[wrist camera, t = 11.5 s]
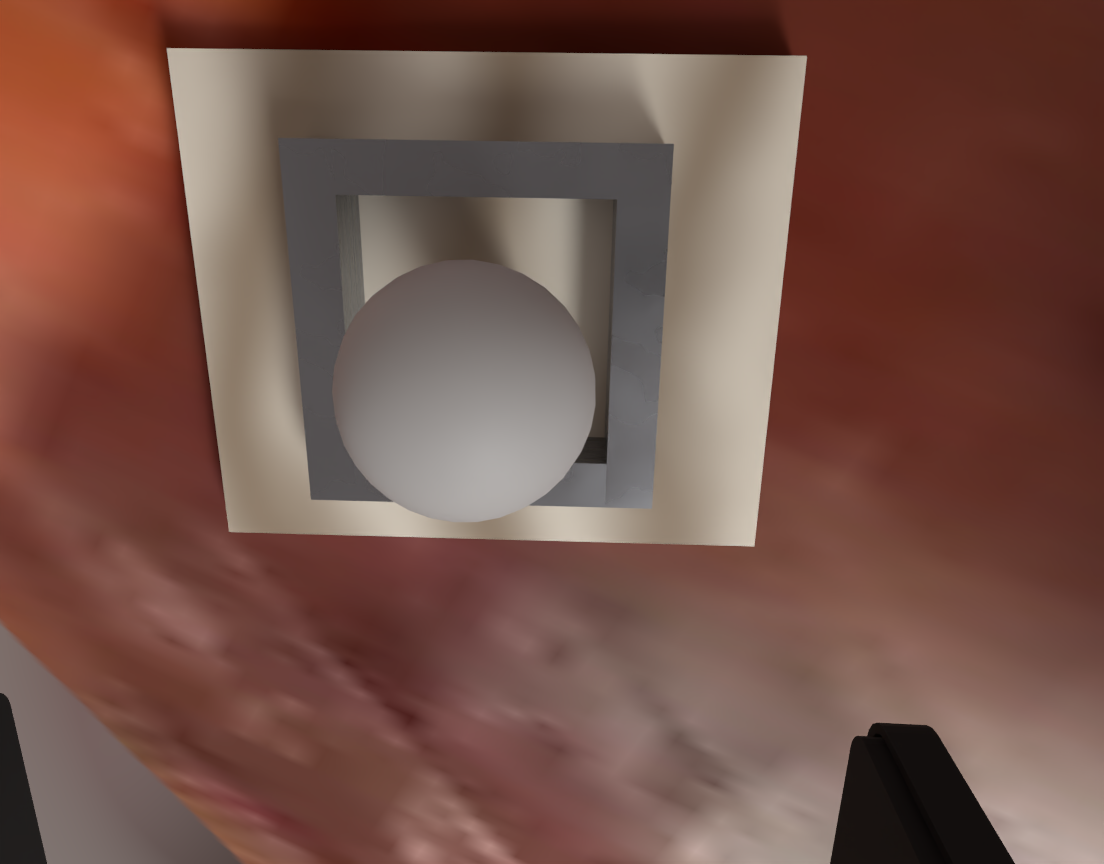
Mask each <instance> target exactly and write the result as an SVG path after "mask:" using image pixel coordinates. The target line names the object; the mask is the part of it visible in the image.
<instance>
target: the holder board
mask: <svg viewBox="0 0 1104 864" xmlns="http://www.w3.org/2000/svg"><path fill="white" fill-rule="evenodd" d="M167 55H168V63H169V70H170V78H171V86H172V94H173V101H174V109H175V117H176V125H177V132H178V140H179V148H180V155H181V163H182V171H183V179H184V186H185V194H186V202H187V210H188V217H189V225H190V233H191V240H192V248H193V256H194V264H195V271H196V279H197V287H198V295H199V302H200V310H201V318H202V326H203V333H204V341H205V349H206V356H207V364H208V372H209V380H210V387H211V395H212V403H213V411H214V418H215V426H216V434H217V442H218V449H219V457H220V465H221V472H222V480H223V488H224V496H225V503H226V511H227V519H228V527H229V532H251V533H288V534H324V535H360V536H397V537H433V538H470V539H506V540H542V541H579V542H615V543H652V544H688V545H724V546H754V544H755V535H756V525H757V516H758V507H759V497H760V488H761V479H762V470H763V460H764V451H765V442H766V432H767V423H768V414H769V405H770V395H771V386H772V377H773V367H774V358H775V349H776V340H777V330H778V321H779V312H780V302H781V293H782V284H783V274H784V265H785V256H786V247H787V237H788V228H789V219H790V209H791V200H792V191H793V182H794V172H795V163H796V154H797V144H798V135H799V126H800V117H801V107H802V98H803V89H804V79H805V70H806V61H807V56H771V55H689V54H607V53H524V52H442V51H360V50H278V49H196V48H167ZM278 138H321V139H387V140H454V141H521V142H588V143H655V144H674V152H673V169H672V185H671V202H670V218H669V235H668V252H667V268H666V285H665V301H664V318H663V335H662V351H661V368H660V384H659V401H658V418H657V434H656V451H655V467H654V484H653V500H652V509H641V508H603V507H565V506H527V507H525V508H523V509H521V510H518V511H516V512H513V513H511V514H508V515H505V516H503V517H500V518H496V519H491V520H485V521H480V522H450V521H444V520H438V519H432V518H429V517H426V516H423V515H420V514H418V513H415V512H412V511H409V510H407V509H406V508H404V507H402V506H400V505H399V504H397V503H395V502H376V501H338V500H311V495H310V484H309V473H308V462H307V451H306V440H305V429H304V418H303V407H302V396H301V385H300V374H299V363H298V352H297V342H296V331H295V320H294V309H293V298H292V287H291V276H290V265H289V254H288V243H287V232H286V221H285V210H284V199H283V188H282V177H281V166H280V155H279V144H278ZM358 198H359V214H360V230H361V247H362V263H363V279H364V295H365V303H366V302H367V301H368V300H369V299H370V298H371V297H372V295H374V294H375V293H377V292H378V291H379V290H381V289H382V288H383V287H385V286H386V285H387V284H389V283H390V282H391V281H393V280H394V279H395V278H397V277H399V276H401V275H403V274H405V273H407V272H409V271H412V270H414V269H416V268H418V267H420V266H424V265H428V264H432V263H437V262H441V261H445V260H477V261H483V262H489V263H494V264H499V265H502V266H504V267H507V268H510V269H512V270H515V271H517V272H520V273H522V274H524V275H526V276H527V277H529V278H531V279H532V280H534V281H535V282H537V283H538V284H540V285H542V286H543V287H545V288H546V289H547V290H548V291H549V292H550V293H551V294H552V295H553V296H555V297H556V298H557V299H558V300H559V301H560V302H561V303H562V304H563V305H564V306H565V307H566V309H567V310H568V312H569V313H570V314H571V316H572V317H573V319H574V320H575V322H576V323H577V324H578V326H579V327H580V330H581V332H582V334H583V336H584V339H585V341H586V343H587V345H588V348H589V350H590V354H591V359H592V363H593V368H594V373H595V411H594V416H593V421H592V426H591V430H590V433H589V435H588V437H604V436H605V409H606V383H607V357H608V330H609V304H610V277H611V251H612V225H613V199H557V198H497V197H438V196H378V195H358Z"/></svg>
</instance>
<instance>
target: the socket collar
mask: <svg viewBox="0 0 1104 864" xmlns="http://www.w3.org/2000/svg"><path fill="white" fill-rule="evenodd" d="M278 144H279V155H280V166H281V177H282V188H283V199H284V210H285V221H286V232H287V243H288V254H289V265H290V276H291V287H292V298H293V309H294V320H295V331H296V342H297V352H298V363H299V374H300V385H301V396H302V407H303V418H304V429H305V440H306V451H307V462H308V473H309V484H310V495H311V500H338V501H376V502H393V501H392V500H390V499H388V498H387V497H386V496H385V495H384V494H382V493H381V492H380V491H379V490H378V489H376V488H375V487H374V486H373V485H372V484H370V482H369V481H368V480H367V479H366V478H365V476H364V475H363V474H362V473H361V472H360V470H359V469H358V468H357V467H356V466H355V464H354V462H353V460H352V459H351V457H350V455H349V453H348V451H347V450H346V448H345V446H344V444H343V441H342V438H341V435H340V432H339V429H338V426H337V423H336V418H335V412H334V404H333V396H332V386H333V374H334V366H335V363H336V359H337V356H338V353H339V349H340V346H341V343H342V340H343V337H344V335H345V333H346V331H347V329H348V328H349V326H350V324H351V322H352V320H353V319H354V317H355V315H356V314H357V313H358V311H359V310H360V309H361V308H362V307H363V306H364V305H365V295H364V279H363V263H362V247H361V230H360V214H359V198H358V195H378V196H438V197H497V198H557V199H613V225H612V251H611V277H610V304H609V330H608V357H607V383H606V409H605V436H604V437H587V440H586V442H585V444H584V447H583V449H582V451H581V453H580V455H579V456H578V458H577V459H576V460H575V462H574V463H573V465H572V466H571V468H570V469H569V471H568V472H567V473H566V475H565V476H564V478H563V479H562V480H561V481H560V482H558V483H557V484H556V485H555V486H554V487H553V488H552V489H551V490H550V491H549V492H548V493H547V494H546V495H544V496H542V497H541V498H539V499H538V500H536V501H535V502H533V503H531V504H530V505H528V506H565V507H603V508H641V509H652V500H653V484H654V467H655V451H656V434H657V418H658V401H659V384H660V368H661V351H662V335H663V318H664V301H665V285H666V268H667V252H668V235H669V218H670V202H671V185H672V169H673V152H674V144H655V143H588V142H521V141H454V140H387V139H321V138H278Z"/></svg>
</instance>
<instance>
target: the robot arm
mask: <svg viewBox="0 0 1104 864" xmlns="http://www.w3.org/2000/svg"><path fill="white" fill-rule="evenodd" d="M0 864H47V862H46V857H45V853H44V848H43V844H42V840H41V835H40V831H39V827H38V822H37V818H36V814H35V809H34V805H33V800H32V797H31V792H30V788H29V783H28V779H27V775H26V770H25V766H24V762H23V757H22V753H21V748H20V744H19V740H18V735H17V731H16V727H15V722H14V718H13V714H12V709H11V705H10V702H9V700H8V698H7V697H6V696H5V695H4V694H2V693H0ZM830 864H1015V863H1014V861H1013V860H1012V858H1011V856H1010V855H1009V853H1008V851H1007V850H1006V848H1005V846H1004V845H1003V843H1002V841H1001V840H1000V838H999V836H998V835H997V833H996V831H995V830H994V828H993V826H992V825H991V823H990V821H989V820H988V818H987V816H986V815H985V813H984V811H983V810H982V808H981V806H980V805H979V803H978V801H977V800H976V798H975V796H974V794H973V793H972V791H971V789H970V788H969V786H968V784H967V783H966V781H965V779H964V778H963V776H962V774H961V773H960V771H959V769H958V768H957V766H956V764H955V763H954V761H953V759H952V758H951V756H950V754H949V753H948V751H947V749H946V748H945V746H944V744H943V743H942V741H941V739H940V738H939V736H938V734H937V733H936V732H935V731H934V729H933V728H931V727H929V726H927V725H911V724H891V723H875V724H872V726H871V727H870V729H869V732H868V735H867V736H856V737H855V738H854V739H853V741H852V744H851V748H850V754H849V760H848V765H847V771H846V777H845V782H844V788H843V794H842V800H841V805H840V811H839V817H838V822H837V828H836V834H835V839H834V845H833V851H832V856H831V862H830Z"/></svg>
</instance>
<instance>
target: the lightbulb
mask: <svg viewBox="0 0 1104 864" xmlns="http://www.w3.org/2000/svg"><path fill="white" fill-rule="evenodd" d="M332 396H333V404H334V412H335V418H336V423H337V426H338V429H339V432H340V435H341V438H342V441H343V444H344V446H345V448H346V450H347V451H348V453H349V455H350V457H351V459H352V460H353V462H354V464H355V466H356V467H357V468H358V469H359V470H360V472H361V473H362V474H363V475H364V476H365V478H366V479H367V480H368V481H369V482H370V484H372V485H373V486H374V487H375V488H376V489H378V490H379V491H380V492H381V493H382V494H384V495H385V496H386V497H387V498H388V499H390V500H392V501H393V502H395V503H397V504H399V505H400V506H402V507H404V508H406V509H407V510H409V511H412V512H415V513H418V514H420V515H423V516H426V517H429V518H432V519H438V520H444V521H450V522H480V521H485V520H491V519H496V518H500V517H503V516H505V515H508V514H511V513H513V512H516V511H518V510H521V509H523V508H525V507H527V506H528V505H530V504H531V503H533V502H535V501H536V500H538V499H539V498H541V497H542V496H544V495H546V494H547V493H548V492H549V491H550V490H551V489H552V488H553V487H554V486H555V485H556V484H557V483H558V482H560V481H561V480H562V479H563V478H564V476H565V475H566V473H567V472H568V471H569V469H570V468H571V466H572V465H573V463H574V462H575V460H576V459H577V458H578V456H579V455H580V453H581V451H582V449H583V447H584V444H585V442H586V440H587V437H588V435H589V433H590V430H591V426H592V421H593V416H594V411H595V373H594V368H593V363H592V359H591V354H590V350H589V348H588V345H587V343H586V341H585V339H584V336H583V334H582V332H581V330H580V327H579V326H578V324H577V323H576V322H575V320H574V319H573V317H572V316H571V314H570V313H569V312H568V310H567V309H566V307H565V306H564V305H563V304H562V303H561V302H560V301H559V300H558V299H557V298H556V297H555V296H553V295H552V294H551V293H550V292H549V291H548V290H547V289H546V288H545V287H543V286H542V285H540V284H538V283H537V282H535V281H534V280H532V279H531V278H529V277H527V276H526V275H524V274H522V273H520V272H517V271H515V270H512V269H510V268H507V267H504V266H502V265H499V264H494V263H489V262H483V261H477V260H445V261H441V262H437V263H432V264H428V265H424V266H420V267H418V268H416V269H414V270H412V271H409V272H407V273H405V274H403V275H401V276H399V277H397V278H395V279H394V280H393V281H391V282H390V283H389V284H387V285H386V286H385V287H383V288H382V289H381V290H379V291H378V292H377V293H375V294H374V295H372V297H371V298H370V299H369V300H368V301H367V302H366V303H365V305H364V306H363V307H362V308H361V309H360V310H359V311H358V313H357V314H356V315H355V317H354V319H353V320H352V322H351V324H350V326H349V328H348V329H347V331H346V333H345V335H344V337H343V340H342V343H341V346H340V349H339V353H338V356H337V359H336V363H335V366H334V374H333V386H332Z"/></svg>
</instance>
